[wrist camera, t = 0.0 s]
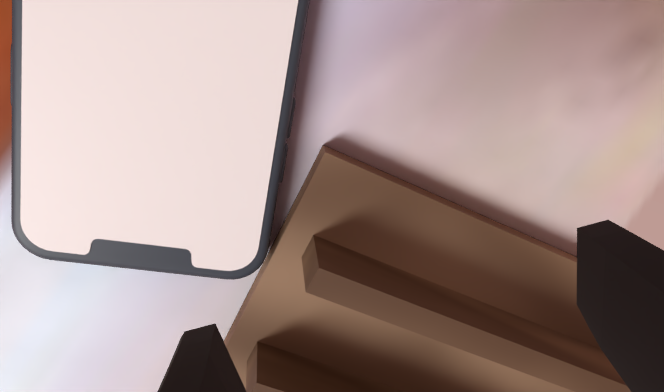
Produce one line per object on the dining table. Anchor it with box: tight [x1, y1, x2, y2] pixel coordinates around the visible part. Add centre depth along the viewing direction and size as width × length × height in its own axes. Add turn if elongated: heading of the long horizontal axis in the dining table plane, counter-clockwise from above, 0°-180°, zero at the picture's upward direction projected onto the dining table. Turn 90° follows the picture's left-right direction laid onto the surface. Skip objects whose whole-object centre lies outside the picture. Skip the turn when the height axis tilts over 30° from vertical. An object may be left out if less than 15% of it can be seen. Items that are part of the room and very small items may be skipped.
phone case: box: [11, 0, 310, 279], centre depth 19 cm, size 9×2×16 cm
